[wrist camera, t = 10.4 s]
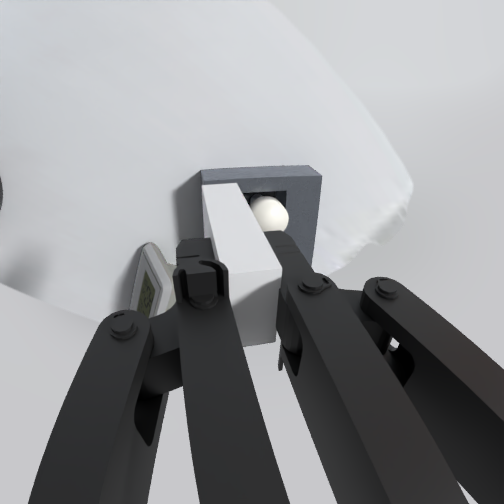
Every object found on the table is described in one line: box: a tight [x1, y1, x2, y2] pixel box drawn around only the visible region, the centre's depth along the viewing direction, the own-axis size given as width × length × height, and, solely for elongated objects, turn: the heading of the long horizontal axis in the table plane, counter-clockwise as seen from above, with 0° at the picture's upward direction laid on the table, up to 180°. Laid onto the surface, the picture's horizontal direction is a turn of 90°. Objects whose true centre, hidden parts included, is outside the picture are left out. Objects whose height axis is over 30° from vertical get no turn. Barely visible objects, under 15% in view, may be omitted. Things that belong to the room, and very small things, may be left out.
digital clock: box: [129, 242, 177, 318], centre depth 47 cm, size 16×9×11 cm, turn 147°
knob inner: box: [249, 194, 289, 232], centre depth 44 cm, size 5×5×7 cm
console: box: [201, 165, 322, 266], centre depth 48 cm, size 16×22×5 cm
